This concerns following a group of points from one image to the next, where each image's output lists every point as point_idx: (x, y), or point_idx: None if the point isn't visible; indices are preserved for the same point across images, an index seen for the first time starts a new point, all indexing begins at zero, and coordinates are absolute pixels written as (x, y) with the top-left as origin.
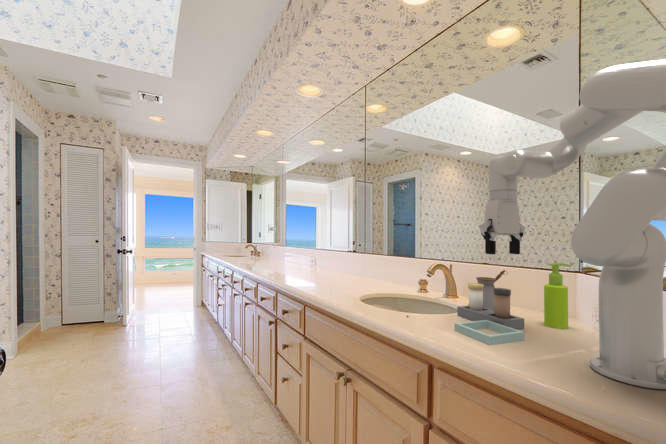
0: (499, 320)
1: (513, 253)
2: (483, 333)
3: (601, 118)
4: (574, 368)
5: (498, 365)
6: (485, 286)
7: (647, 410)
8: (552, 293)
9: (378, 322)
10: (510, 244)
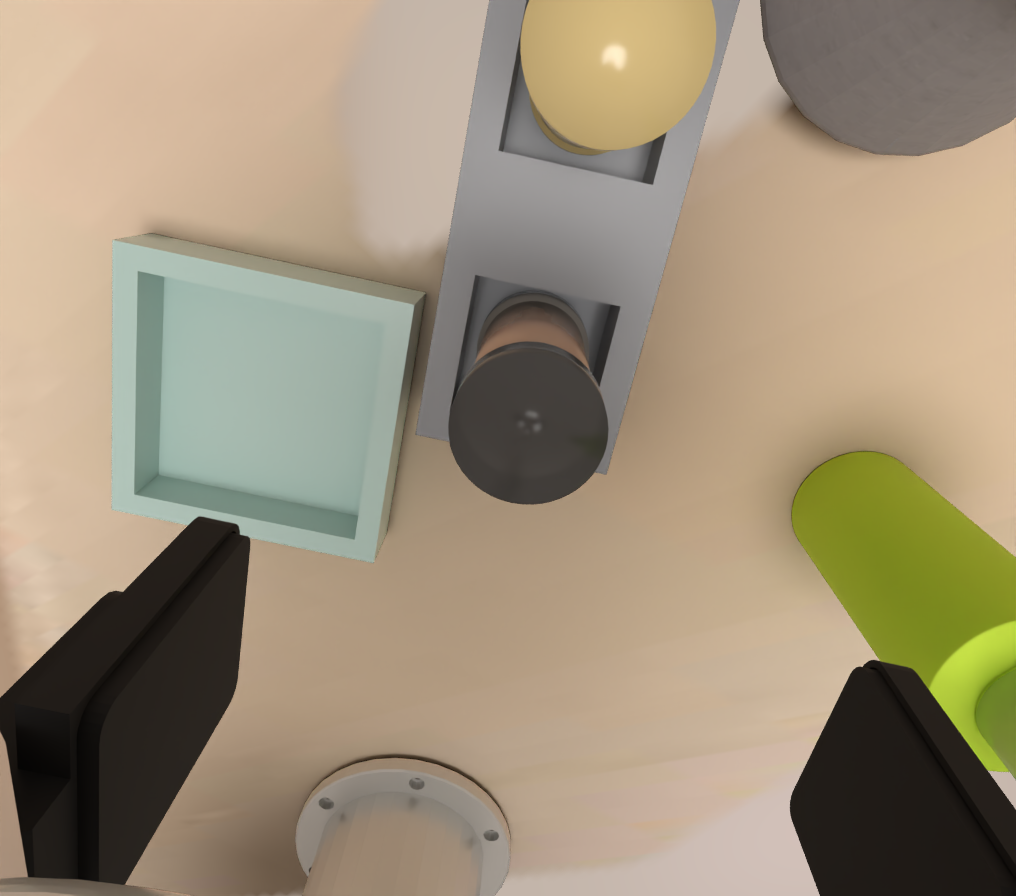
0: (423, 398)
1: (819, 737)
2: (124, 463)
3: None
4: (287, 735)
5: (27, 591)
6: None
7: (173, 891)
8: (898, 661)
9: None
10: (941, 844)
